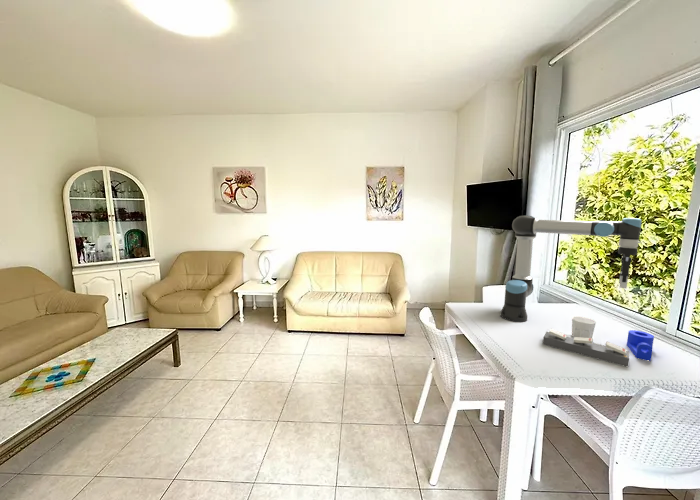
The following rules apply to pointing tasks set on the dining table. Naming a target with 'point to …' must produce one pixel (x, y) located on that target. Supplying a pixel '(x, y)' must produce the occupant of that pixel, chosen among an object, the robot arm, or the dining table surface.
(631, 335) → the bracket
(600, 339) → the dining table surface
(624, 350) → the rocker
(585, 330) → the cup
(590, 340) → the rocker
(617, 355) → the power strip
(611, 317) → the dining table surface
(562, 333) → the rocker
